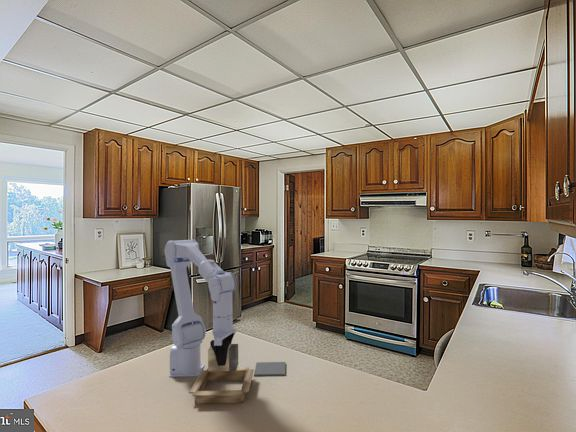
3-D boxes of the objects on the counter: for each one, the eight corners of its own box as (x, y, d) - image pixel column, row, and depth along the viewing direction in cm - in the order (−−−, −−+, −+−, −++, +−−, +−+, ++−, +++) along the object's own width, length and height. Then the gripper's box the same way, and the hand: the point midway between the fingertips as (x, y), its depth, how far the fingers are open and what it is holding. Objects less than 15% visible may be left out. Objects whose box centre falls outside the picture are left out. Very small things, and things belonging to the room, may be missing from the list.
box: (208, 371, 92) (207, 350, 92) (211, 364, 96) (211, 344, 96) (236, 370, 92) (235, 349, 92) (238, 363, 96) (238, 343, 96)
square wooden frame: (187, 406, 86) (187, 395, 86) (203, 377, 102) (203, 368, 102) (247, 405, 86) (247, 394, 86) (254, 376, 102) (254, 367, 102)
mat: (253, 376, 102) (253, 374, 102) (256, 363, 111) (256, 362, 111) (285, 375, 102) (285, 373, 102) (285, 363, 111) (285, 361, 111)
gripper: (232, 322, 87) (232, 372, 87) (239, 308, 102) (240, 351, 101) (206, 322, 87) (206, 373, 87) (217, 308, 102) (218, 351, 101)
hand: (223, 361), depth 94 cm, fingers closed on box, 4 cm apart
